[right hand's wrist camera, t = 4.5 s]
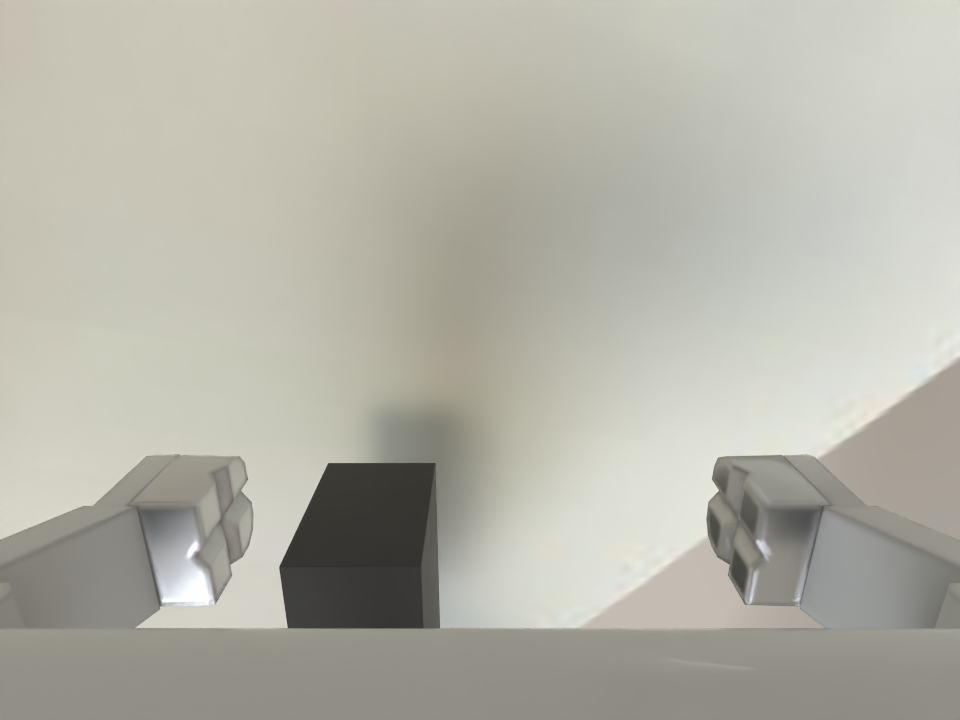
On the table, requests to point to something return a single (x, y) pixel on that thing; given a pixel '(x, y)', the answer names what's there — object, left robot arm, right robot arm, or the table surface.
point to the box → (366, 550)
